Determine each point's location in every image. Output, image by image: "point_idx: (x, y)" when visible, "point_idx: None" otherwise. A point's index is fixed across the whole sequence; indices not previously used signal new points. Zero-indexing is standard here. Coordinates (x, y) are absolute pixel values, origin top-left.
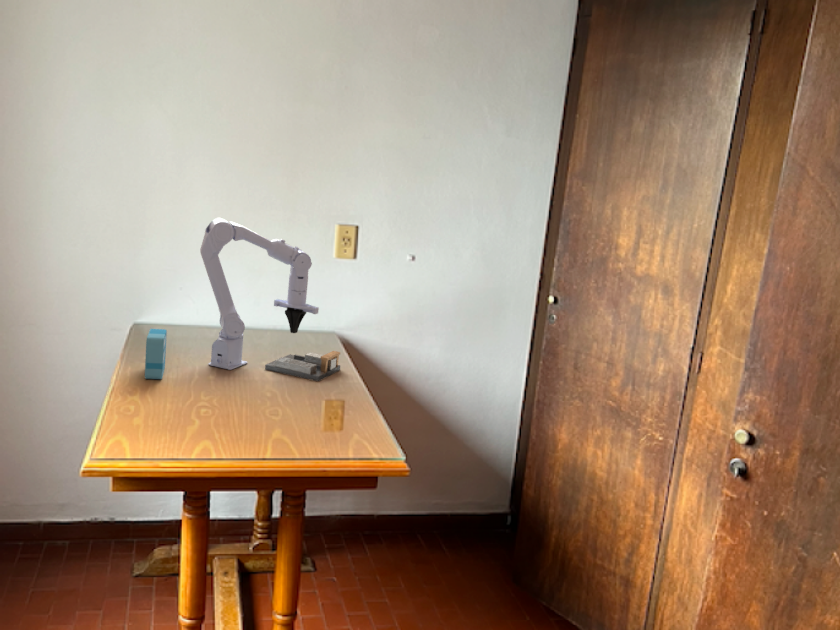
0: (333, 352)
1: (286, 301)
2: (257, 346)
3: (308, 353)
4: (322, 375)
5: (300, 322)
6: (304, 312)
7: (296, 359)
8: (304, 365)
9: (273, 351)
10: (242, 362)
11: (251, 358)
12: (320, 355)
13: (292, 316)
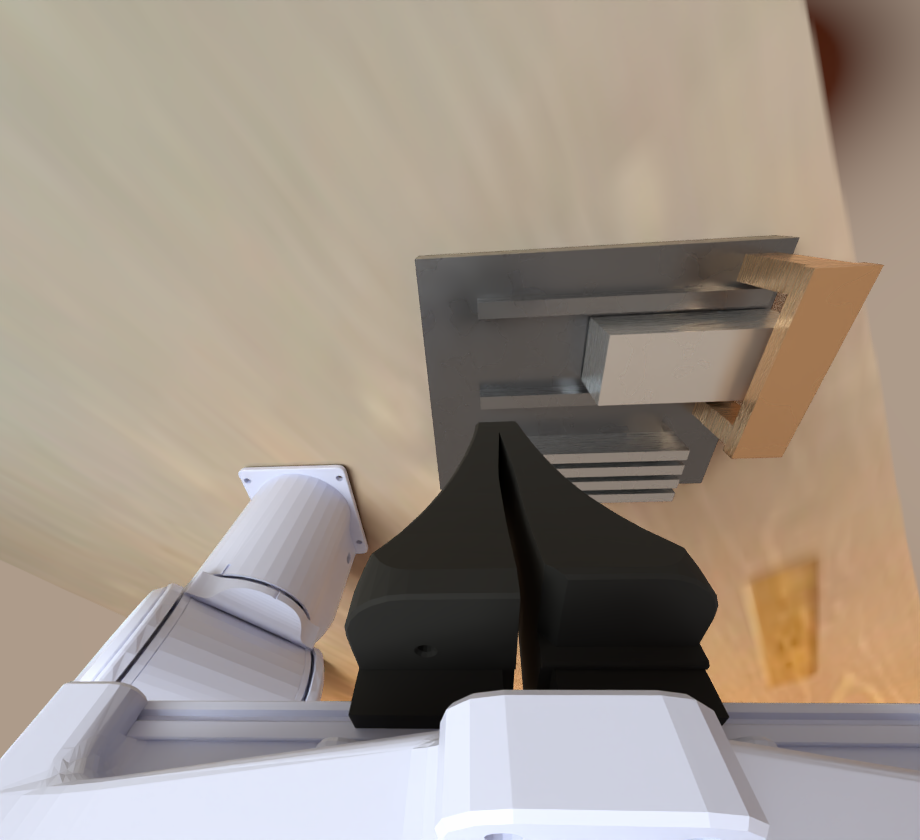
0: (817, 316)
1: (155, 837)
2: (80, 144)
3: (607, 370)
4: (711, 449)
5: (559, 477)
6: (691, 648)
7: (504, 329)
8: (632, 488)
9: (238, 174)
10: (337, 486)
11: (293, 394)
12: (695, 353)
13: (522, 658)
